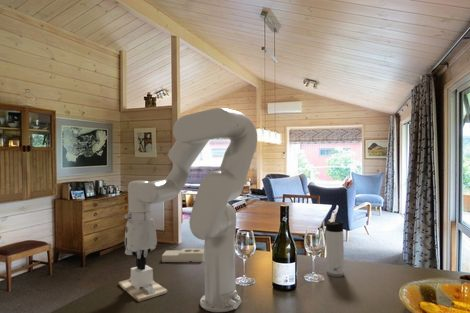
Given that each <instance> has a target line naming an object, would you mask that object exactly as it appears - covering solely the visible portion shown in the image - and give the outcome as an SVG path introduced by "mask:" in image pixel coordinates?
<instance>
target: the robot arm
mask: <svg viewBox="0 0 470 313" xmlns="http://www.w3.org/2000/svg"><path fill="white" fill-rule="evenodd" d="M172 134H173V138H174V139H175V142H174V144H173V145H172V147H171V148H170V149H169V151H168V153H167V155H168V158H169V160H170V161H171V162H172V163H173V164H172V168H171V170H170V172H169V173H168V175H167V176H166V177H165V178H164V179H159V180H153V181H148V180H142V179H141V180H132V181H130V182H129V183H128V186H127V197H128V198H127V199H128V203H127V204H128V211H127V214H125V215H124V219H127V221H126V223H125V224H126V225H125V231H124V232H125V233H124V248H125V250H124V254H125V255H127V256H133V257H135V267H137V268H138V269H140V270H142V269H145V266H146V265H147V257H148V254H149V253H150V252H151V251H153V250H155V249H156V248H157V247H156V246H157V244H158V239H157V229H156V224H155V220H154V218H152V205H155V204H160V203H162V202H168V201H172V200H174V199H175V198H176V197H177V196H178V195H179V194H180V192H181V191H182V190H183V188H184V187H185V185H187V184H186V183H187V182H188V180H189V177H190V174H191V167H192V165H193V163H194V162H195V161H196V160H197V158H198V157H199V155H200V154H201V153H202V151H203V150H204V148H205V147H206V145H207V144H208V142H209V141H210V140H215V139H229V140H230V142H229V145H228V147H227V148H226V150H225V152H224V154H223V158H222V161H221V164H220V167H219V168H218V170H214V171H211V172H209V173H208V174H206V175H205V176H204V177H203V179H202V180H201V182H200V184H199V186H198V189H197V193H196V196H195V199H194V202H193V206H192V209H191V211H190V215H189V221H188V222H189V229H190V232H191V234H192V235H193V236H194V237H195V238H196V239H199V240H201V241H204V246H203V249H204V261H203V263H204V265H203V266H204V294H203V295H202V296H201V298H200V300H199V302H200V303H199V305H200V307H201V308H202V309H203V310H205V311H208V312H211V313H225V312H230V311H234V310H237V309H239V308H238V307H239V306H241V303H243V302H242V299H241V296H239V294H238V291H237V290H236V257H235V254H236V247H235V246H236V245H235V244H236V242H235V240H236V229H237V214H236V210H235V208H234V207H233V205H232V204H231V203H229V202H231V201H234V200H236V199H238V198H239V197H240V196H241V194H242V192H243V190H244V186H245V183H246V180H247V178H248V174H249V171H250V168H251V164H252V160H253V158H254V155H255V151H256V150H257V145H258V132H257V128H256V125H254V123H253V121H252V120H251V118H249V116H247V115H245V114H244V113H242V112H240V111H237V110H234V109H229V108H225V107H216V108H215V107H214V108H210V109H206V110H202V111H201V110H200V111H197V112H193V113H188V114H185V115H182V116H180V117H179V118H178V119H176V121H175V122H174V125H173V128H172Z"/></svg>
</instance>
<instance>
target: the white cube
mask: <svg viewBox="0 0 470 313" xmlns="http://www.w3.org/2000/svg"><path fill="white" fill-rule="evenodd" d="M153 270H154V268H152V267H151V266H149V265H147V264H146V266H145V269H142V270H140V269H138V268H137V267H136V266H134V267H131V268H130V277H131V285H132V286H133V287H135V288H136V289H137V290H140V287H142V286H146V285H151V286H153V281H154V271H153Z"/></svg>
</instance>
